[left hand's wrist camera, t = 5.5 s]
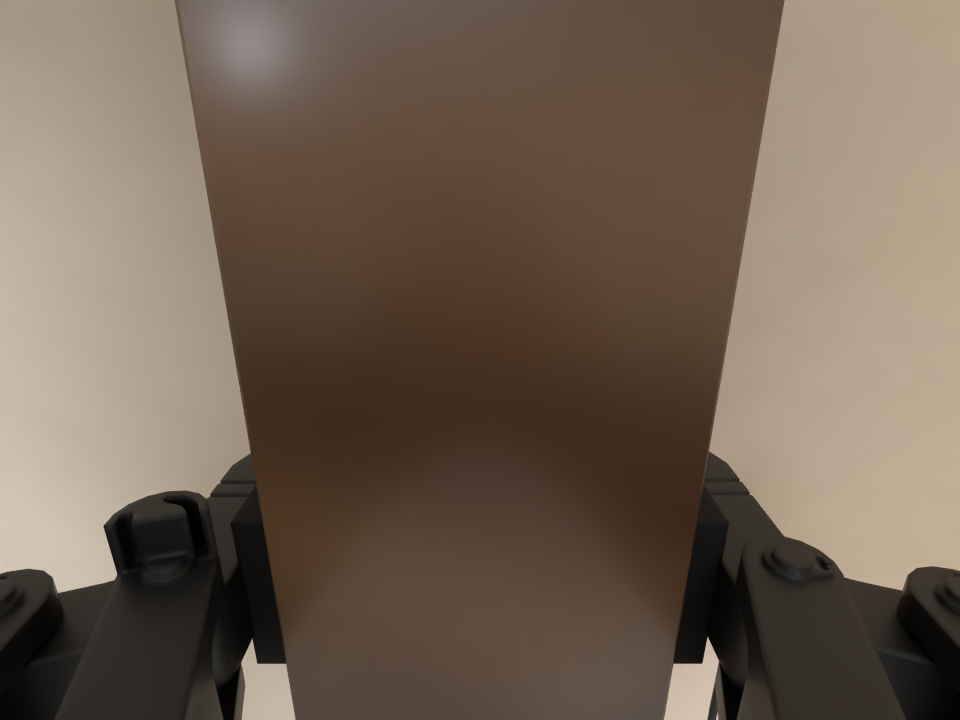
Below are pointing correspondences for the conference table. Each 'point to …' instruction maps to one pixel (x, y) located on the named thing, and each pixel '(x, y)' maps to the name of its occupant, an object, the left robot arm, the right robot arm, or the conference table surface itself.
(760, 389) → the conference table surface
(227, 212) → the bar
